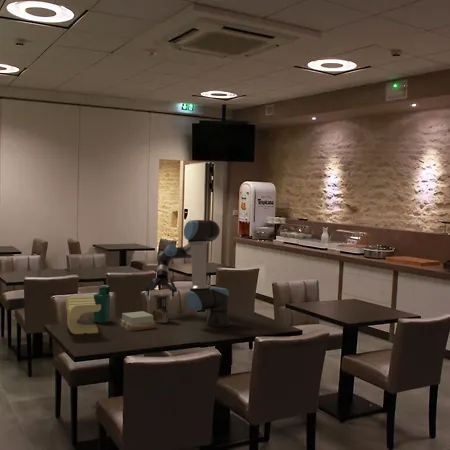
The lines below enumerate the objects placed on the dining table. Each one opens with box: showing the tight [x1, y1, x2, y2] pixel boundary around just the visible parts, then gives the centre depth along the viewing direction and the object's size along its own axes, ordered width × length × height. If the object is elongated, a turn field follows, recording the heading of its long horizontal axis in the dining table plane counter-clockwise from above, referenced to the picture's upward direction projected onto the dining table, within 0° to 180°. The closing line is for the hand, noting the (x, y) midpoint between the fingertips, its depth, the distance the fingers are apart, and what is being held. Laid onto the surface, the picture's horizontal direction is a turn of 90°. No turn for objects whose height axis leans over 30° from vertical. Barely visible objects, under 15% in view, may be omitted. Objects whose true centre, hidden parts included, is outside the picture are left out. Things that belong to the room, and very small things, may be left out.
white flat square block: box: [121, 310, 153, 325], centre depth 328 cm, size 14×14×4 cm
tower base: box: [119, 318, 156, 332], centre depth 328 cm, size 16×16×4 cm
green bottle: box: [92, 284, 111, 324], centre depth 339 cm, size 10×8×22 cm
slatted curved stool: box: [65, 294, 101, 335], centre depth 314 cm, size 30×16×18 cm, turn 21°
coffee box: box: [152, 294, 169, 324], centre depth 343 cm, size 9×6×16 cm
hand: (160, 300), depth 348 cm, fingers open, 13 cm apart
